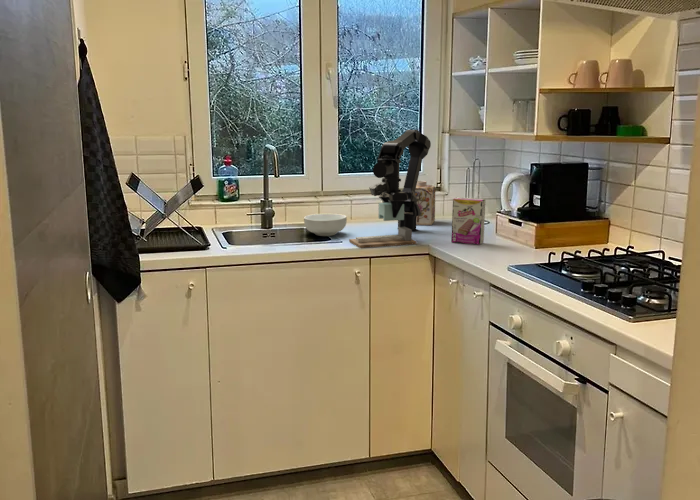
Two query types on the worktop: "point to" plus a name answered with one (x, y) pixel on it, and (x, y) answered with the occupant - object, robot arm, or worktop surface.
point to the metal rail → (379, 238)
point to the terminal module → (389, 212)
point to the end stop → (405, 233)
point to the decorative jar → (425, 203)
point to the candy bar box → (468, 220)
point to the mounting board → (382, 243)
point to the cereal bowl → (325, 223)
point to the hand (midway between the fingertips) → (391, 216)
